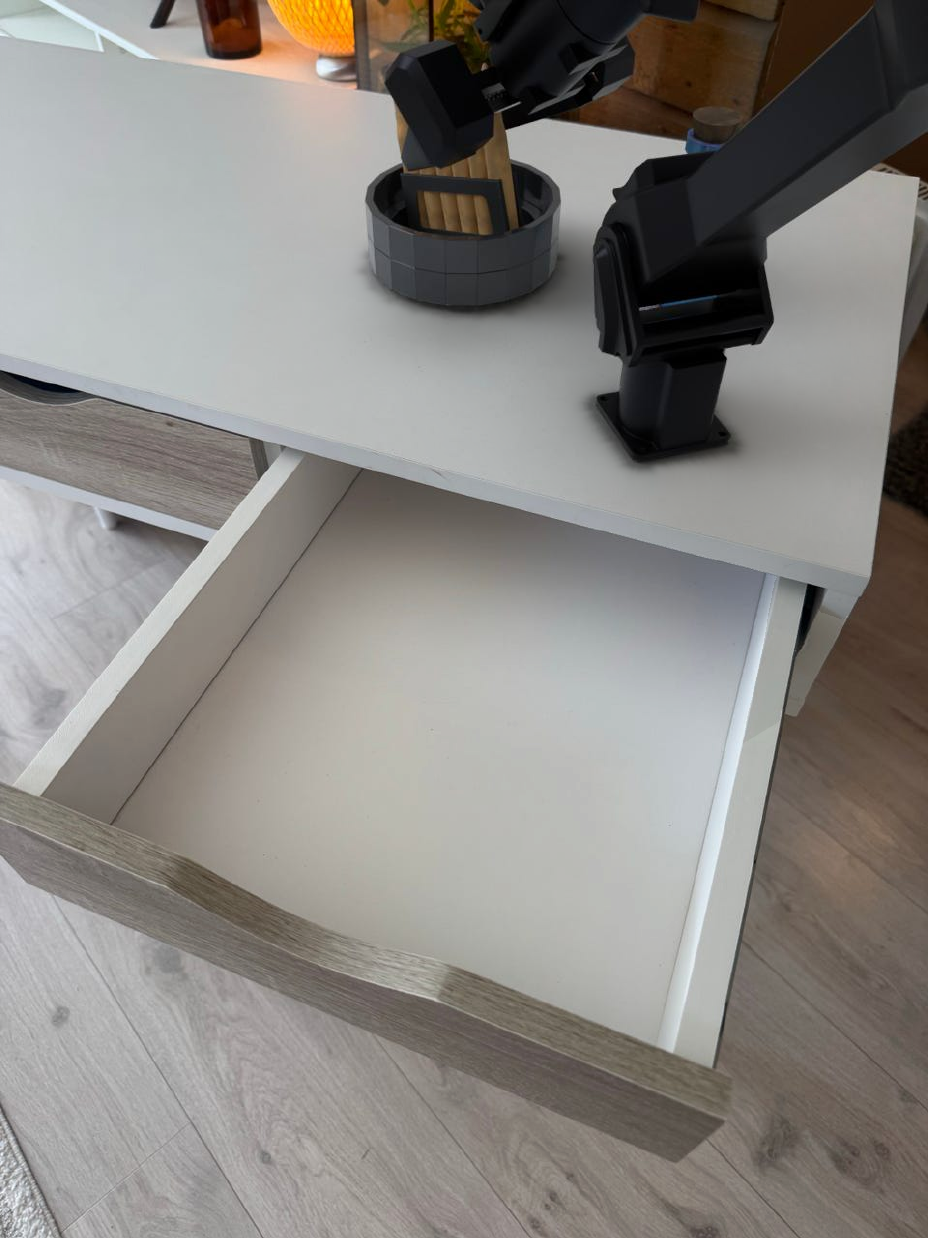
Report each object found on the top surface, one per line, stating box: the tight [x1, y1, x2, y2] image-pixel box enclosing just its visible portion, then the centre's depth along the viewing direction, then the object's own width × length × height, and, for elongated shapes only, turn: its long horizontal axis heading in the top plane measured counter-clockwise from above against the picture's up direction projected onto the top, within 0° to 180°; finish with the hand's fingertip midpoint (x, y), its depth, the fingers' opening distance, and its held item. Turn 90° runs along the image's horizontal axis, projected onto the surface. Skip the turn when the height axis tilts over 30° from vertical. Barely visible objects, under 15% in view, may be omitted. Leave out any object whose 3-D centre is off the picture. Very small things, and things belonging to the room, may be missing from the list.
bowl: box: [364, 158, 562, 307], centre depth 70 cm, size 14×14×6 cm
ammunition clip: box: [392, 62, 524, 236], centre depth 67 cm, size 11×2×12 cm, turn 47°
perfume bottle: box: [660, 106, 743, 307], centre depth 65 cm, size 6×6×12 cm
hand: (452, 143), depth 66 cm, fingers open, 9 cm apart
